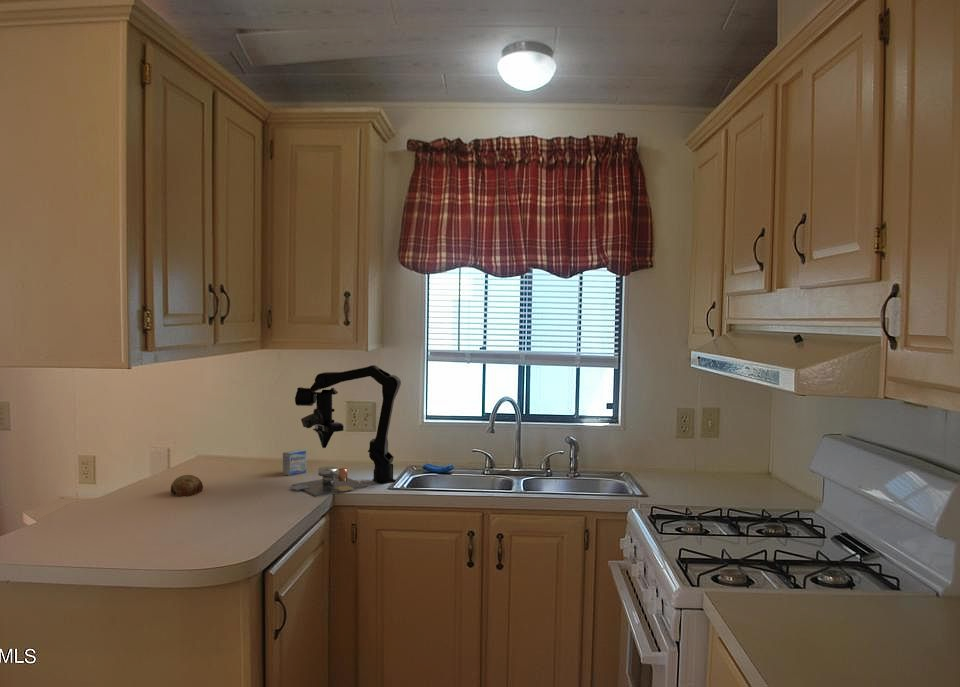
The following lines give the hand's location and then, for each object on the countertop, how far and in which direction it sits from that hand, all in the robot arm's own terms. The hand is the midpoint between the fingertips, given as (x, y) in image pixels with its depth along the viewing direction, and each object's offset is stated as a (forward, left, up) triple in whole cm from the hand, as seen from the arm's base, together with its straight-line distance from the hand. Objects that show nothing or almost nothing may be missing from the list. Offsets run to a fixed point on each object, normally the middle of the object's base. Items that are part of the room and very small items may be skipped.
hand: (324, 447), depth 229 cm
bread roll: (+44, -14, -12) cm, 48 cm away
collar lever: (+2, +11, -8) cm, 14 cm away
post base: (+4, +11, -12) cm, 17 cm away
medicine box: (+4, -16, -12) cm, 21 cm away
